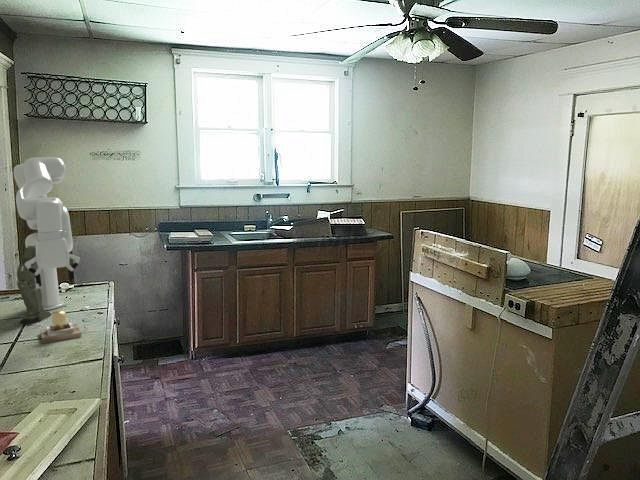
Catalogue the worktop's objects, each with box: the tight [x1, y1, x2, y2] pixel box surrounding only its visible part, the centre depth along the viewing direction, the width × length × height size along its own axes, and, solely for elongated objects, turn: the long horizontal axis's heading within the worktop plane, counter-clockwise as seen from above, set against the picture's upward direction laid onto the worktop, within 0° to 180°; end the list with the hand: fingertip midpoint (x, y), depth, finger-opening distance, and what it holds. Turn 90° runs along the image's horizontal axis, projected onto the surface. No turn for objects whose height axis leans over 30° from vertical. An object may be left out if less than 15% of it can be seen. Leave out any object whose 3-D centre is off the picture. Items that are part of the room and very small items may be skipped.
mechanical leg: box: [16, 246, 51, 325], centre depth 199 cm, size 14×7×30 cm, turn 168°
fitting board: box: [39, 322, 82, 344], centre depth 182 cm, size 11×12×3 cm
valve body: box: [50, 309, 68, 331], centre depth 182 cm, size 4×4×7 cm
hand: (55, 283), depth 180 cm, fingers open, 9 cm apart
